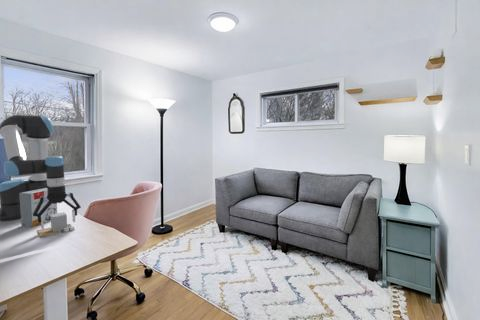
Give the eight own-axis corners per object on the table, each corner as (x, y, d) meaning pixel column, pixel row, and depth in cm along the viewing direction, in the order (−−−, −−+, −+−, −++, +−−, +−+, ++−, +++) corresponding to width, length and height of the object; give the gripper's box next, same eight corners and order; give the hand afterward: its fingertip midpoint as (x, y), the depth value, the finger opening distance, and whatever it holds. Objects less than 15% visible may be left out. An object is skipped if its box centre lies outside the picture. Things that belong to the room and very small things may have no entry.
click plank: (37, 232, 126) (37, 230, 126) (56, 229, 132) (56, 226, 132) (40, 239, 118) (40, 236, 118) (60, 235, 123) (60, 233, 123)
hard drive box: (32, 229, 132) (29, 193, 130) (20, 228, 133) (17, 193, 131) (58, 220, 147) (56, 187, 145) (48, 219, 148) (46, 187, 146)
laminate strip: (57, 228, 132) (56, 226, 132) (70, 226, 137) (69, 223, 137) (61, 235, 124) (61, 232, 124) (75, 232, 128) (75, 229, 128)
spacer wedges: (64, 230, 126) (63, 228, 126) (73, 228, 129) (73, 226, 129) (64, 231, 125) (64, 229, 125) (74, 229, 128) (74, 227, 128)
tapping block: (51, 229, 128) (50, 214, 128) (64, 226, 133) (64, 212, 132) (53, 232, 124) (52, 217, 124) (67, 229, 128) (66, 214, 128)
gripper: (25, 190, 115) (28, 233, 117) (85, 183, 132) (87, 220, 134) (23, 188, 120) (27, 229, 122) (82, 181, 138) (84, 217, 140)
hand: (58, 224), depth 128 cm, fingers open, 13 cm apart
